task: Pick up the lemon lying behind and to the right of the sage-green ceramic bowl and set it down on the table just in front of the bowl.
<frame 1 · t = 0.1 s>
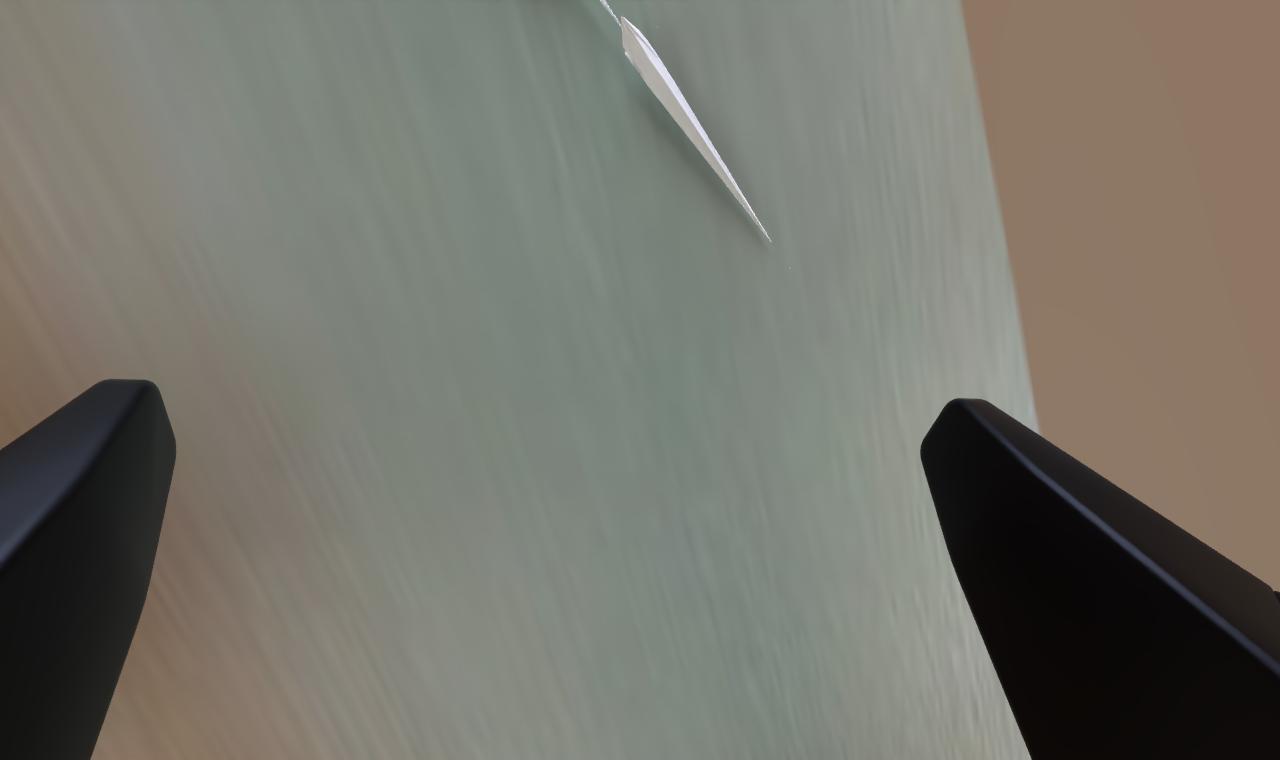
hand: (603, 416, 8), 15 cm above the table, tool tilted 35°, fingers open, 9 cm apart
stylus: (617, 35, 22), on the table
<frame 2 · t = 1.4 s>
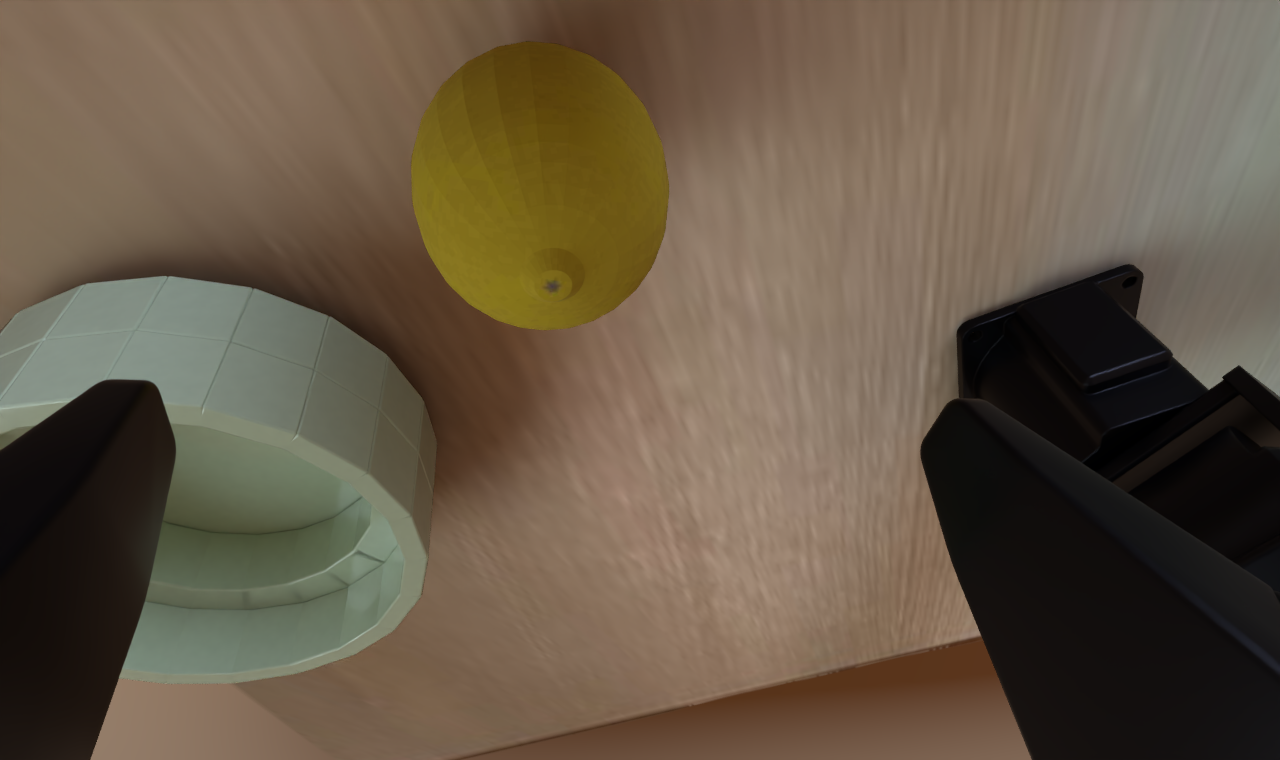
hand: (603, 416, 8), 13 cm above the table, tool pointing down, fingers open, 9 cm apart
bowl: (232, 432, 24), on the table
lemon: (533, 110, 19), on the table
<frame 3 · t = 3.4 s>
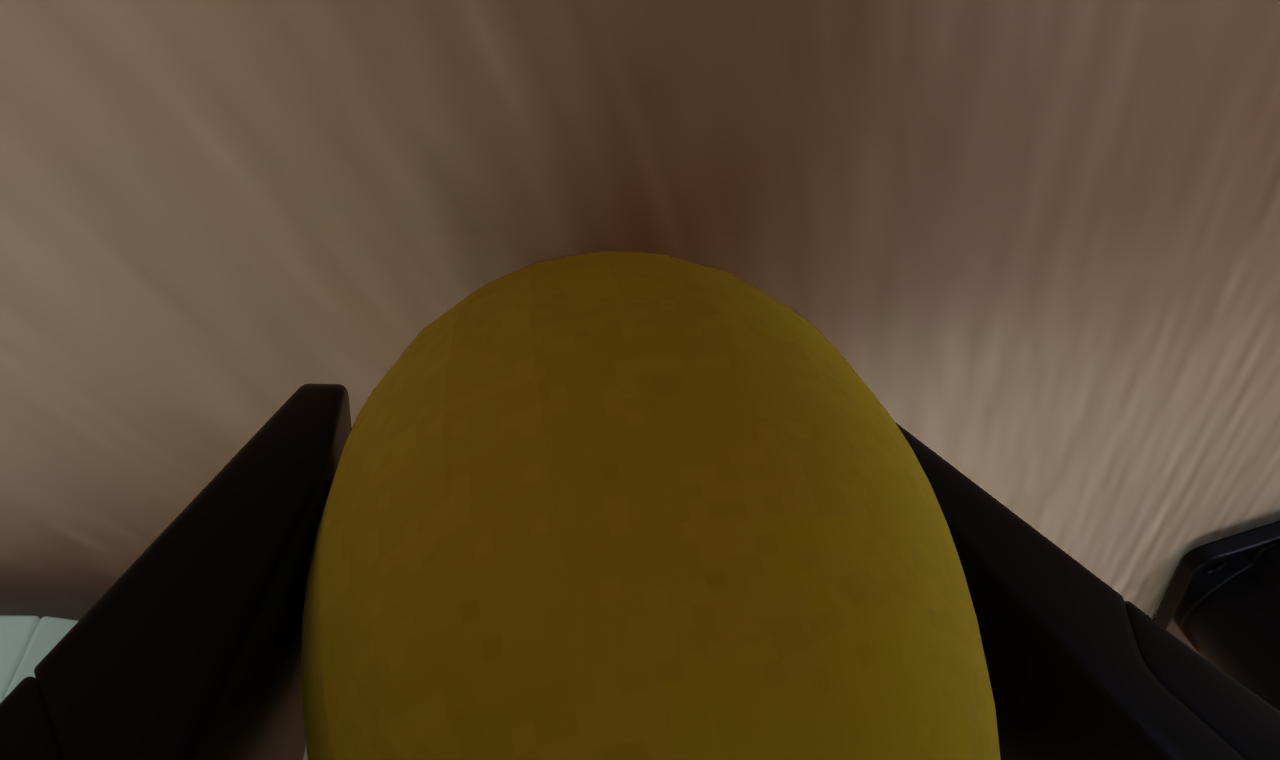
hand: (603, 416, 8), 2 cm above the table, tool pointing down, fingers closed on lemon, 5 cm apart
bowl: (55, 758, 15), on the table
lemon: (579, 310, 10), on the table, touching gripper
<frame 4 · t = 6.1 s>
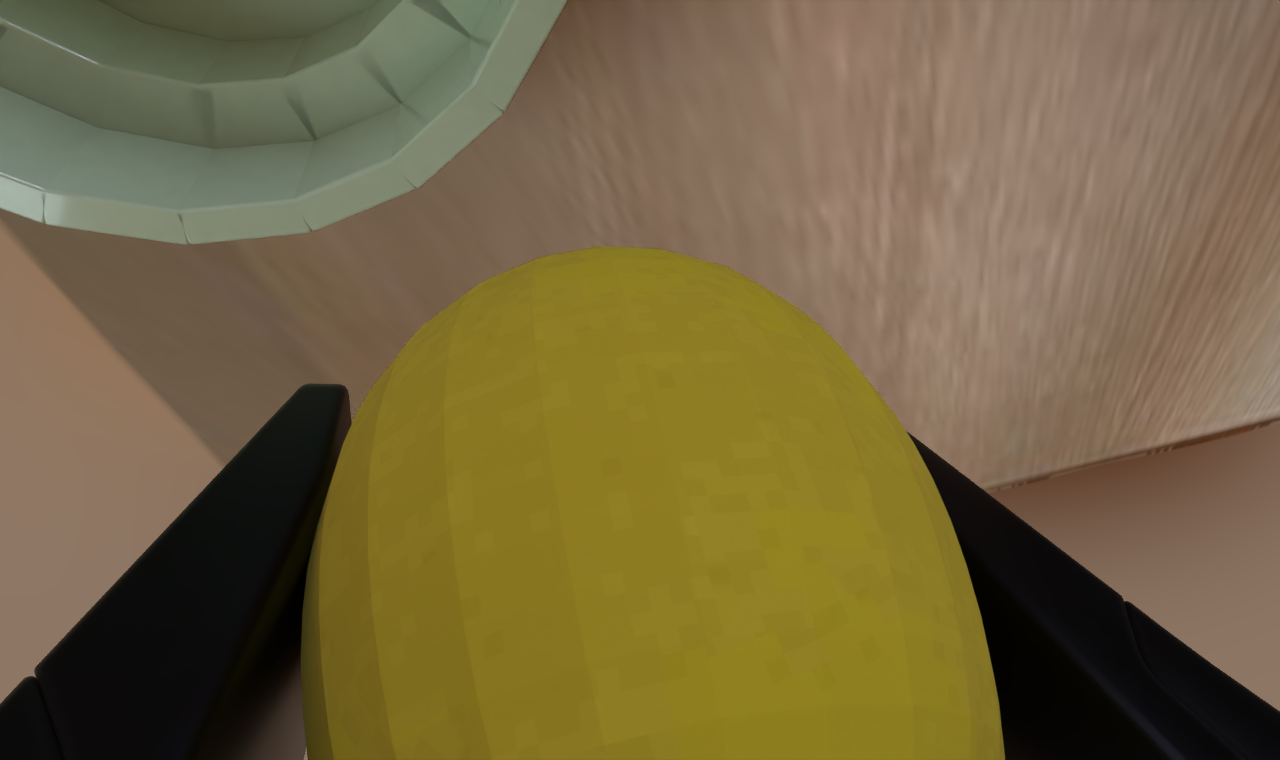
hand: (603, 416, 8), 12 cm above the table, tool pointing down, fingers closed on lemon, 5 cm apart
lemon: (579, 307, 10), point 10 cm above the table, touching gripper
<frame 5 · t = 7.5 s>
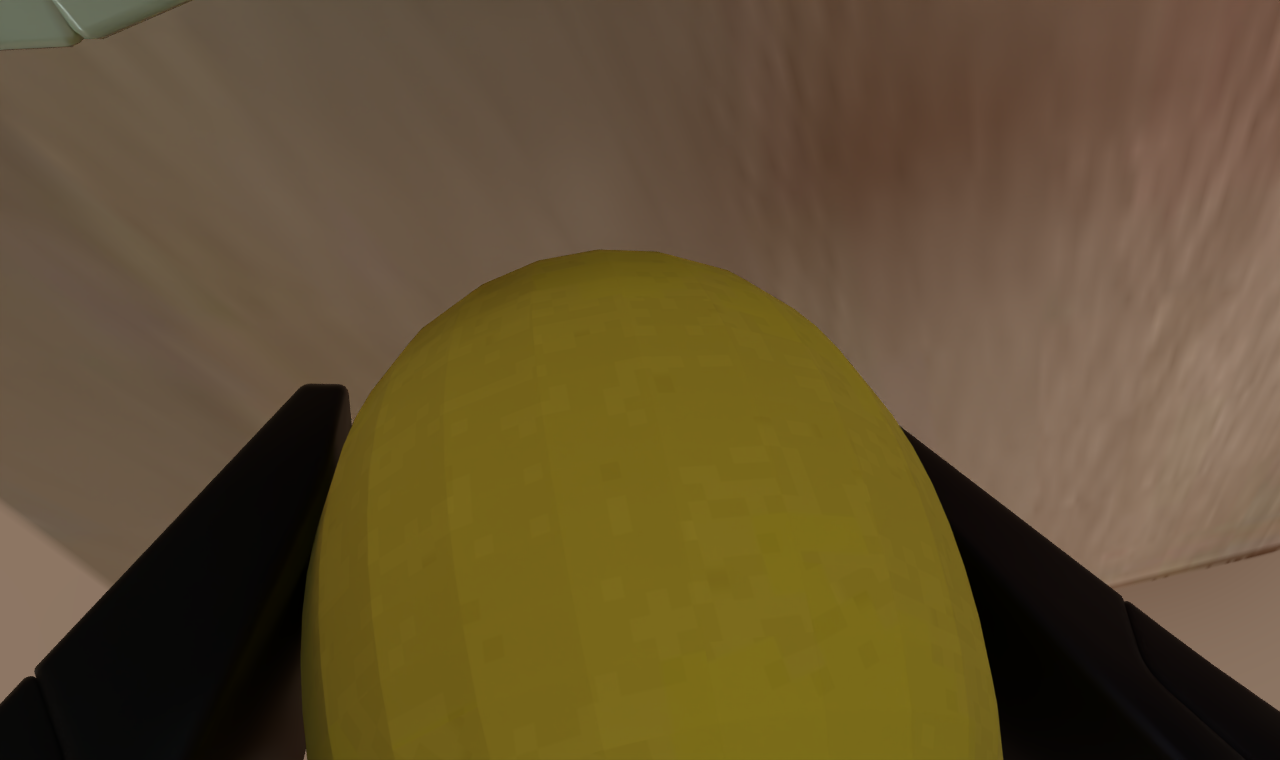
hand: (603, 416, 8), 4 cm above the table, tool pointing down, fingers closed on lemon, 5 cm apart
lemon: (578, 309, 10), point 2 cm above the table, touching gripper
when the fingers open (2 cm above the table, at t = 8.7 s): lemon stays where it is, on the table.
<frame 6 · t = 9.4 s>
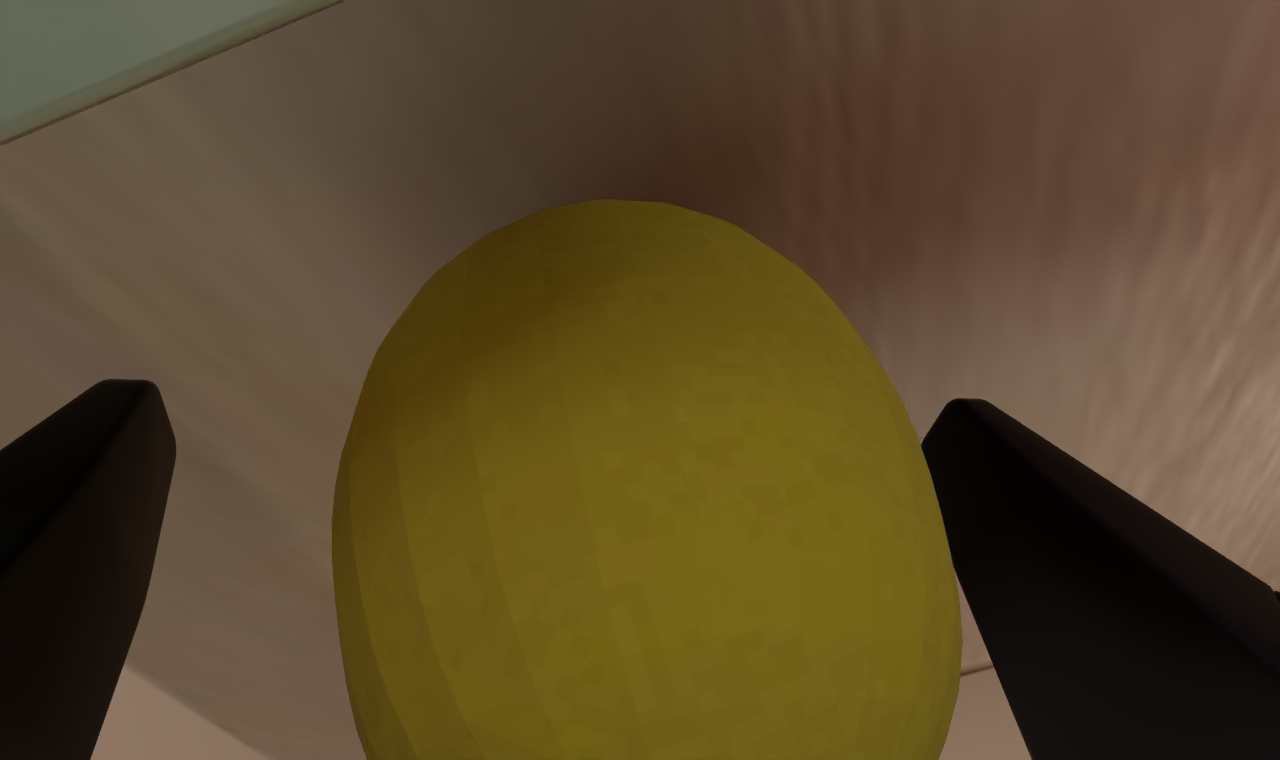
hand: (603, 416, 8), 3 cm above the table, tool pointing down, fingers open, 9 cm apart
lemon: (581, 270, 10), on the table
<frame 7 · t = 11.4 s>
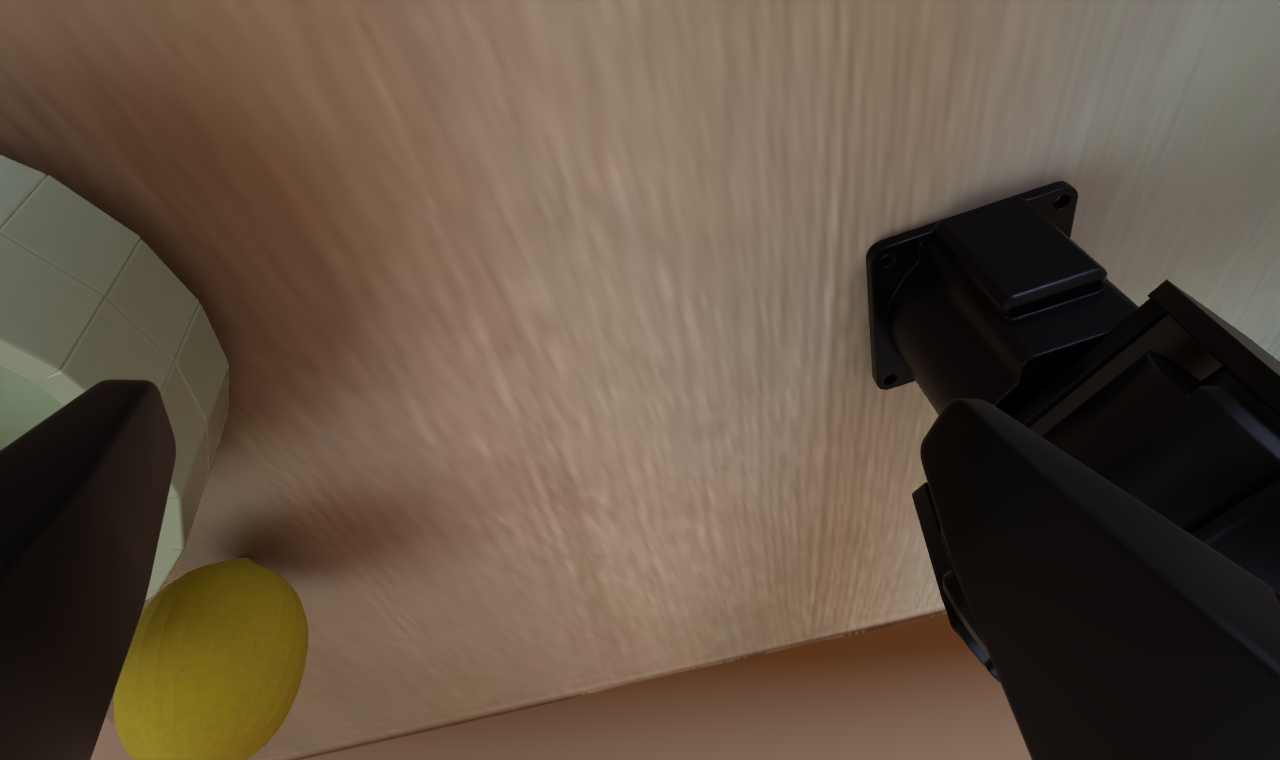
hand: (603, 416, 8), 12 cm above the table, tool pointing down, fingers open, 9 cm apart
lemon: (244, 555, 27), on the table
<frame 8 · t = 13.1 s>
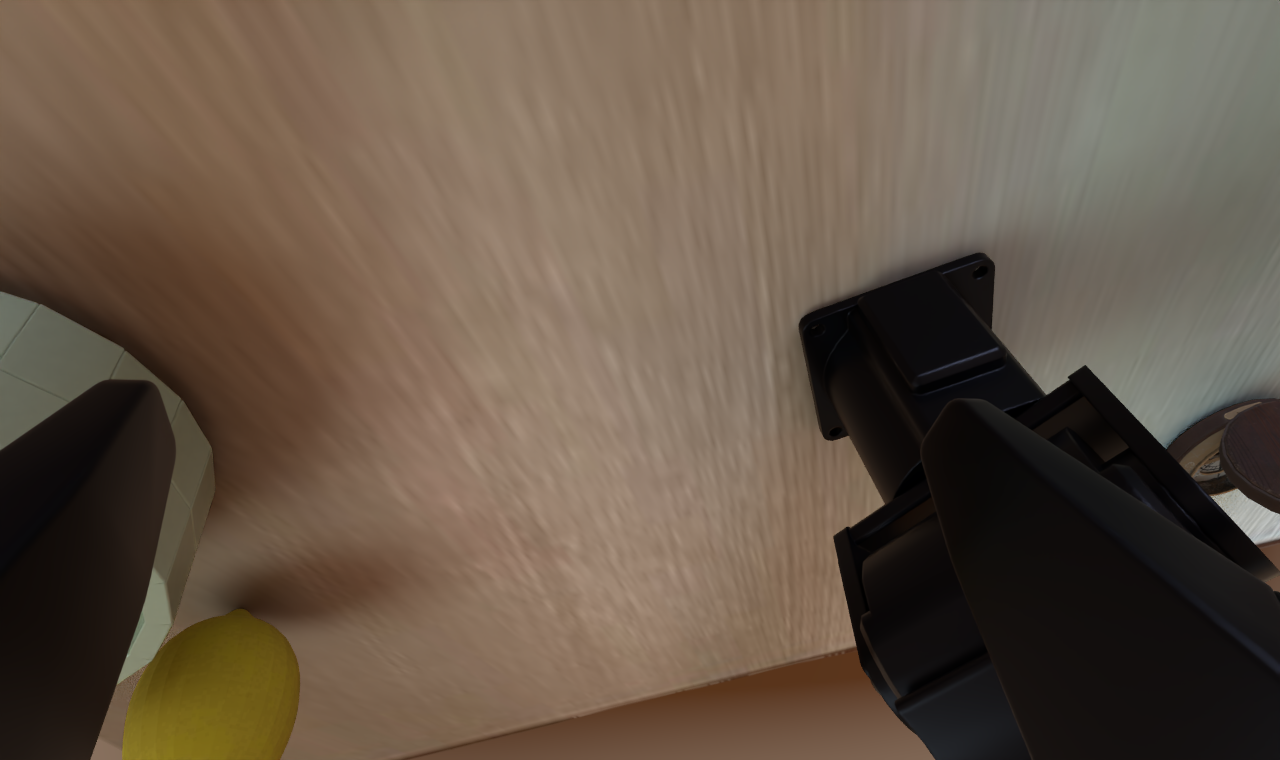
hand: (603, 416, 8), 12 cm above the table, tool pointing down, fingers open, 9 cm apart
compass: (1239, 420, 34), on the table
lemon: (241, 606, 30), on the table
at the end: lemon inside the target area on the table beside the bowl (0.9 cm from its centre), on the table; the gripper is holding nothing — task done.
